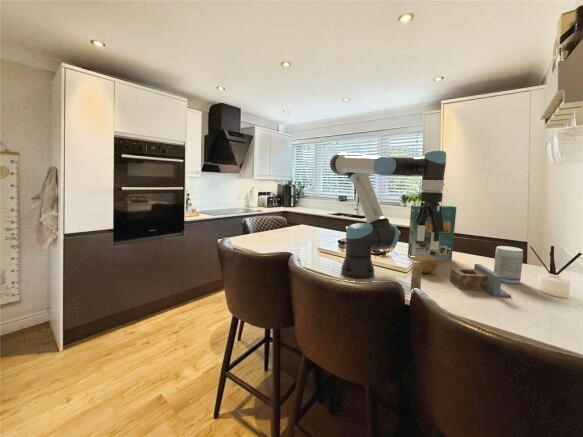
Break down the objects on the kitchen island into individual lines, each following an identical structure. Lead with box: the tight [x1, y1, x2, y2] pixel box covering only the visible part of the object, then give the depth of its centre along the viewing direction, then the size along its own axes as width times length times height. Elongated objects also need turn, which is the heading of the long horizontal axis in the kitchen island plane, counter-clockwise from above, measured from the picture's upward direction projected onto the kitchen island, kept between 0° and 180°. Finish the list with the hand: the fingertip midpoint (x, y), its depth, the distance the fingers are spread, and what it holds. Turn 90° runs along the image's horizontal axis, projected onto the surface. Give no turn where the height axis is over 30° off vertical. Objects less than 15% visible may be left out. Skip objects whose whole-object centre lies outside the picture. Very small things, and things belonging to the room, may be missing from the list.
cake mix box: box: [407, 204, 457, 261], centre depth 155 cm, size 22×6×30 cm, turn 85°
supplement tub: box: [493, 245, 524, 284], centre depth 121 cm, size 10×10×15 cm
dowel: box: [410, 260, 423, 291], centre depth 108 cm, size 4×4×12 cm
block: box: [449, 267, 487, 292], centre depth 115 cm, size 10×9×6 cm
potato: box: [412, 255, 438, 274], centre depth 132 cm, size 10×14×8 cm
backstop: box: [473, 263, 512, 298], centre depth 112 cm, size 6×16×8 cm, turn 171°
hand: (426, 244), depth 110 cm, fingers open, 13 cm apart
